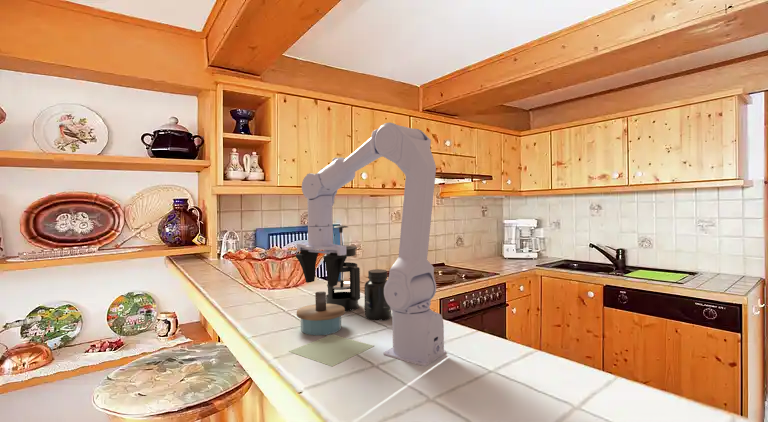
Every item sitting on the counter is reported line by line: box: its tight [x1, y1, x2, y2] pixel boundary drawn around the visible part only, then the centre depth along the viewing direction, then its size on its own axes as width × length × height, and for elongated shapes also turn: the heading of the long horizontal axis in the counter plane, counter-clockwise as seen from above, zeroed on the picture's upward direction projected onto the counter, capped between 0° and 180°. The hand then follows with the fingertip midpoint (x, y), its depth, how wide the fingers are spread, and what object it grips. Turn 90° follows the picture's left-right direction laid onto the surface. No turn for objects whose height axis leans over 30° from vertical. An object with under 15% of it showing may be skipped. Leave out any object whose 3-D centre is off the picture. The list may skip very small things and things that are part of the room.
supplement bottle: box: [364, 268, 392, 321], centre depth 99 cm, size 7×7×12 cm
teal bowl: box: [300, 316, 342, 336], centre depth 90 cm, size 9×9×4 cm
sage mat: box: [288, 333, 375, 367], centre depth 78 cm, size 12×12×1 cm
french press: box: [325, 225, 361, 312], centre depth 109 cm, size 12×9×23 cm
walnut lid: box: [296, 291, 346, 321], centre depth 90 cm, size 11×11×5 cm
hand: (321, 283), depth 91 cm, fingers open, 7 cm apart
